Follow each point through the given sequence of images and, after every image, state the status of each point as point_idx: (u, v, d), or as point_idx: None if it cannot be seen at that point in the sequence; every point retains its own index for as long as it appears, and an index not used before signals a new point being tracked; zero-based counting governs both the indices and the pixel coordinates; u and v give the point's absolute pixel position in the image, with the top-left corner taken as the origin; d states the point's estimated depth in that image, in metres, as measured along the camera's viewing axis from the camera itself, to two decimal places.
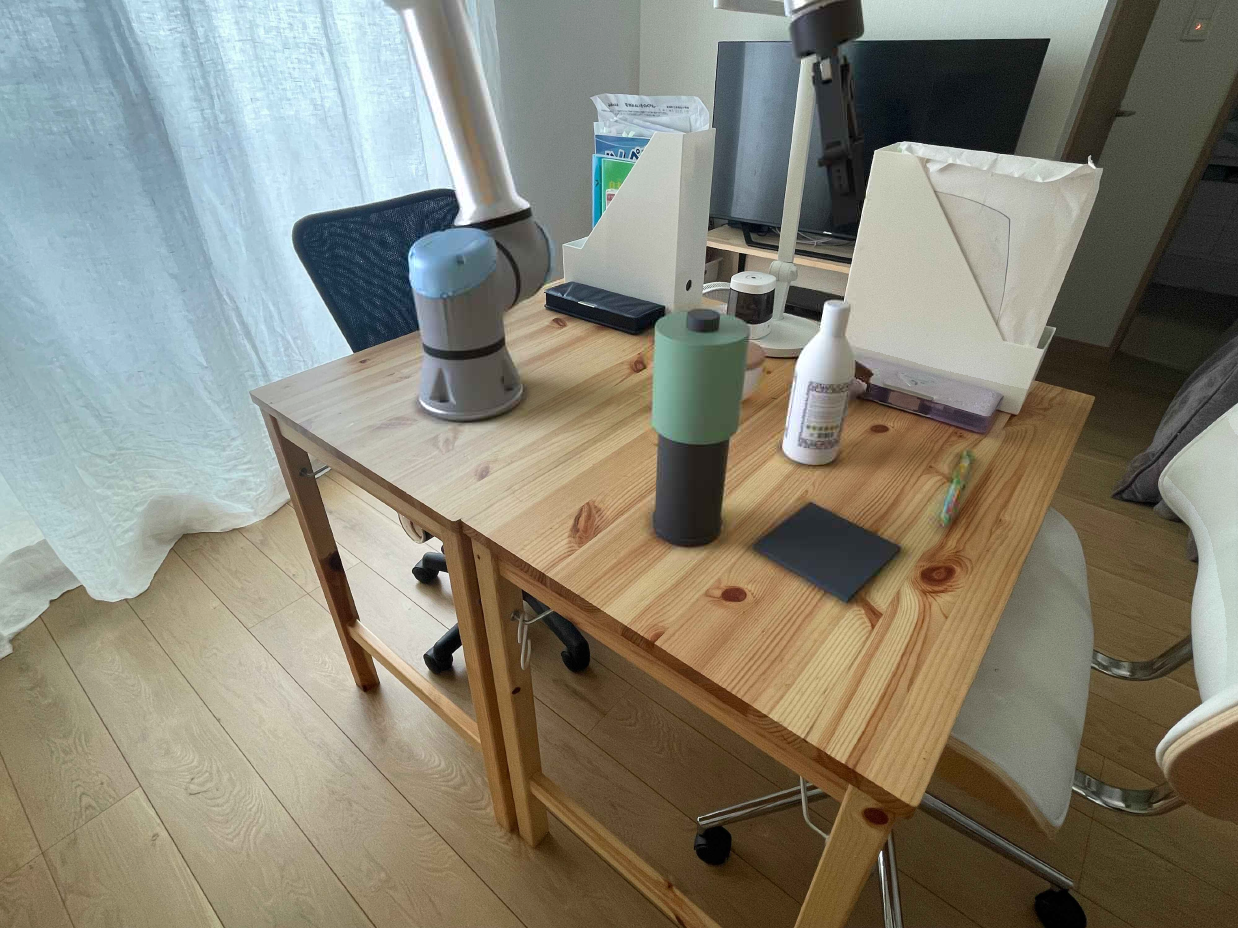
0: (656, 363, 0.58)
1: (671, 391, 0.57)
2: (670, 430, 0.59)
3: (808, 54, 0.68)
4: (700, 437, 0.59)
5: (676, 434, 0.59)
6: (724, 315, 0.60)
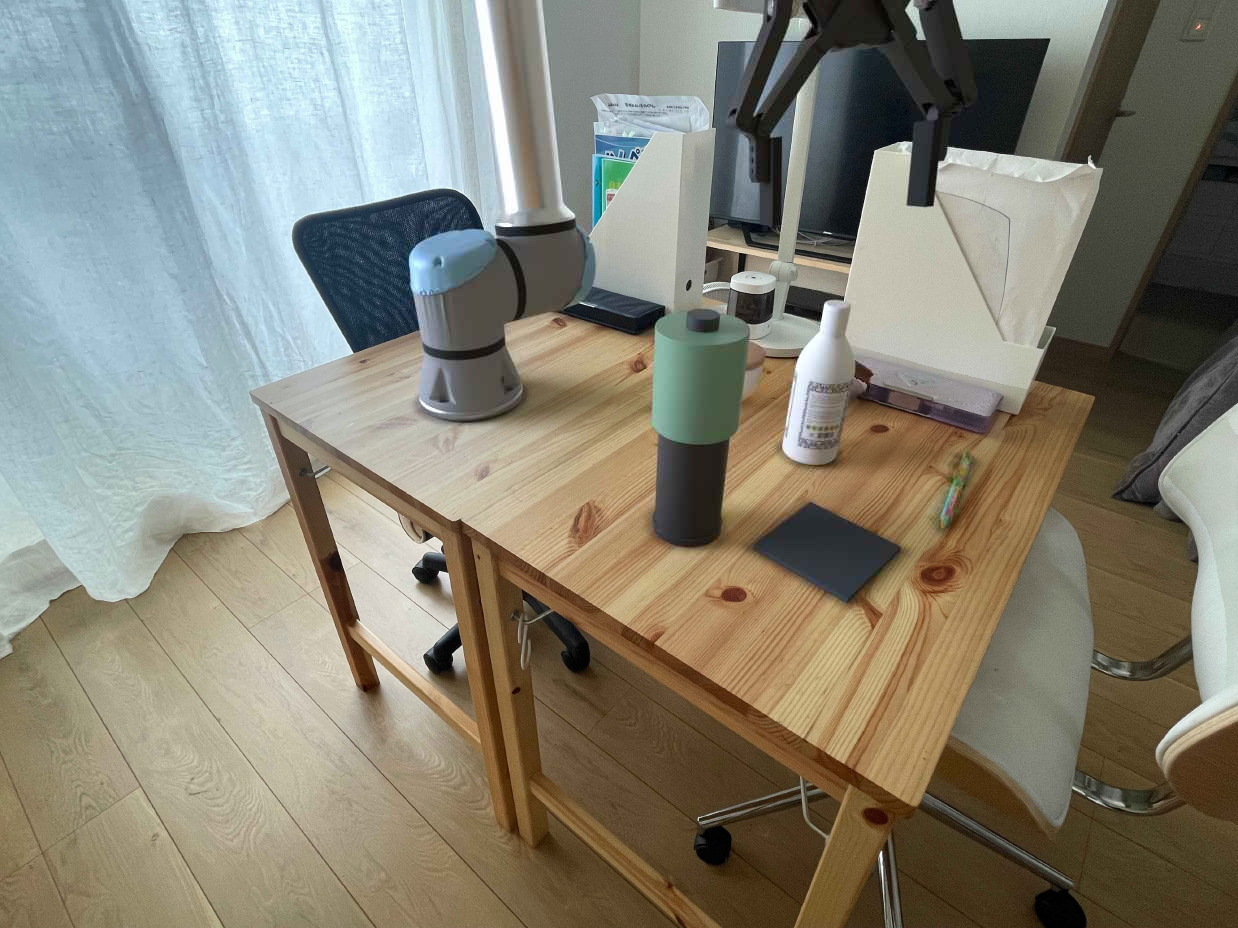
0: (656, 363, 0.58)
1: (671, 391, 0.57)
2: (670, 430, 0.59)
3: None
4: (700, 437, 0.59)
5: (676, 434, 0.59)
6: (724, 315, 0.60)
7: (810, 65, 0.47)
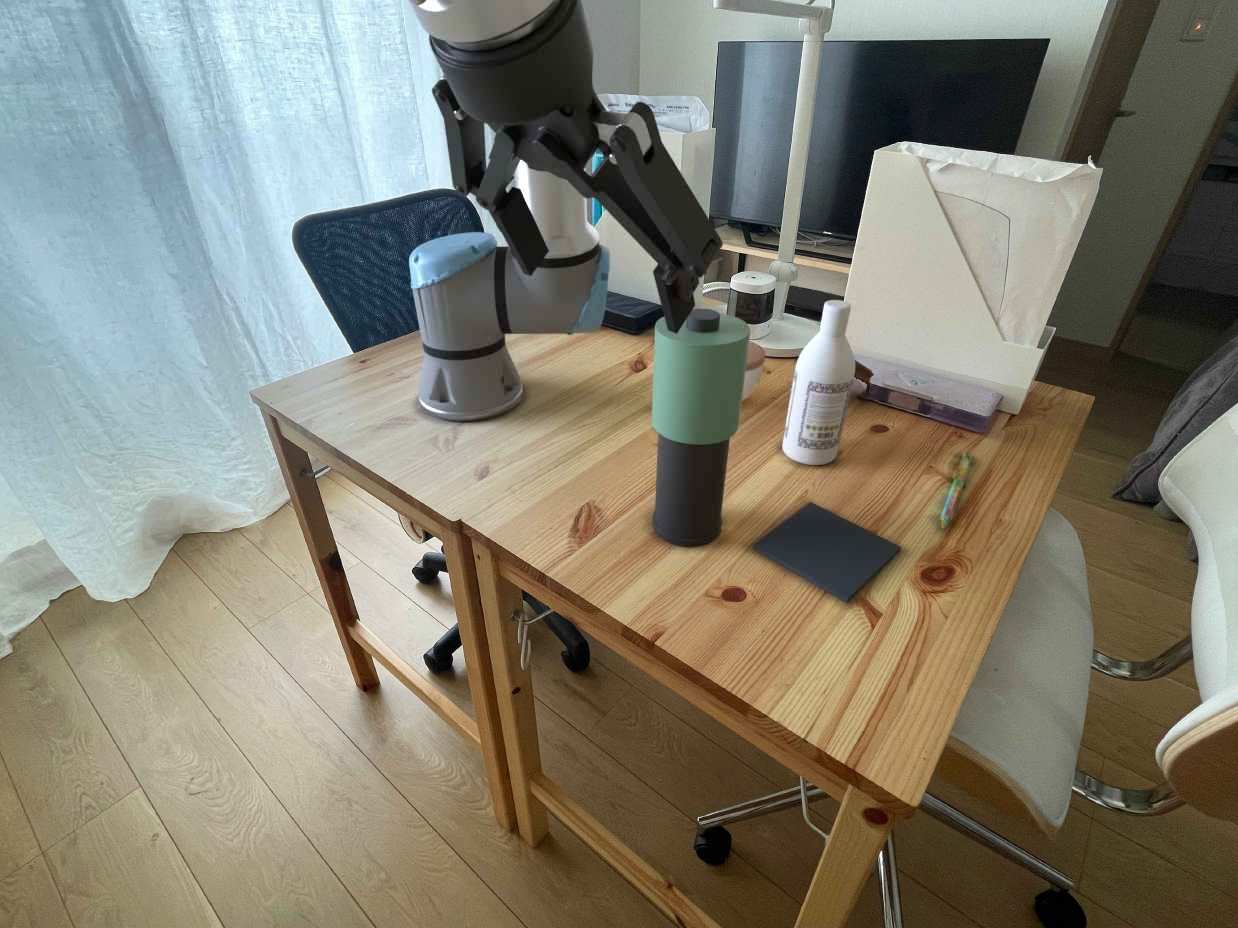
0: (656, 363, 0.58)
1: (671, 391, 0.57)
2: (670, 430, 0.59)
3: None
4: (700, 437, 0.59)
5: (676, 434, 0.59)
6: (724, 315, 0.60)
7: (499, 172, 0.40)
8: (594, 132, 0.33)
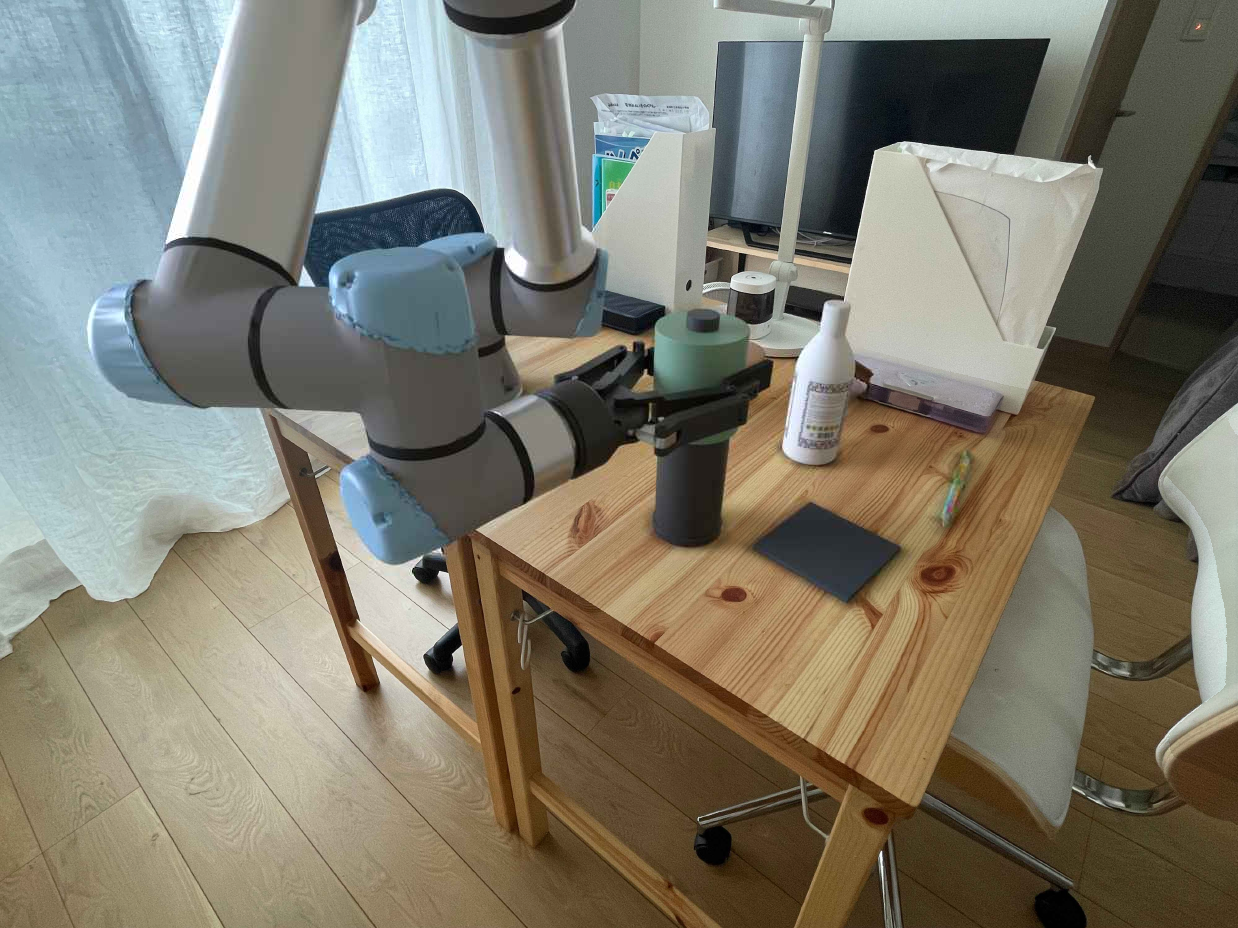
0: (656, 363, 0.58)
1: (671, 391, 0.57)
2: None
3: None
4: None
5: None
6: (724, 315, 0.60)
7: None
8: None
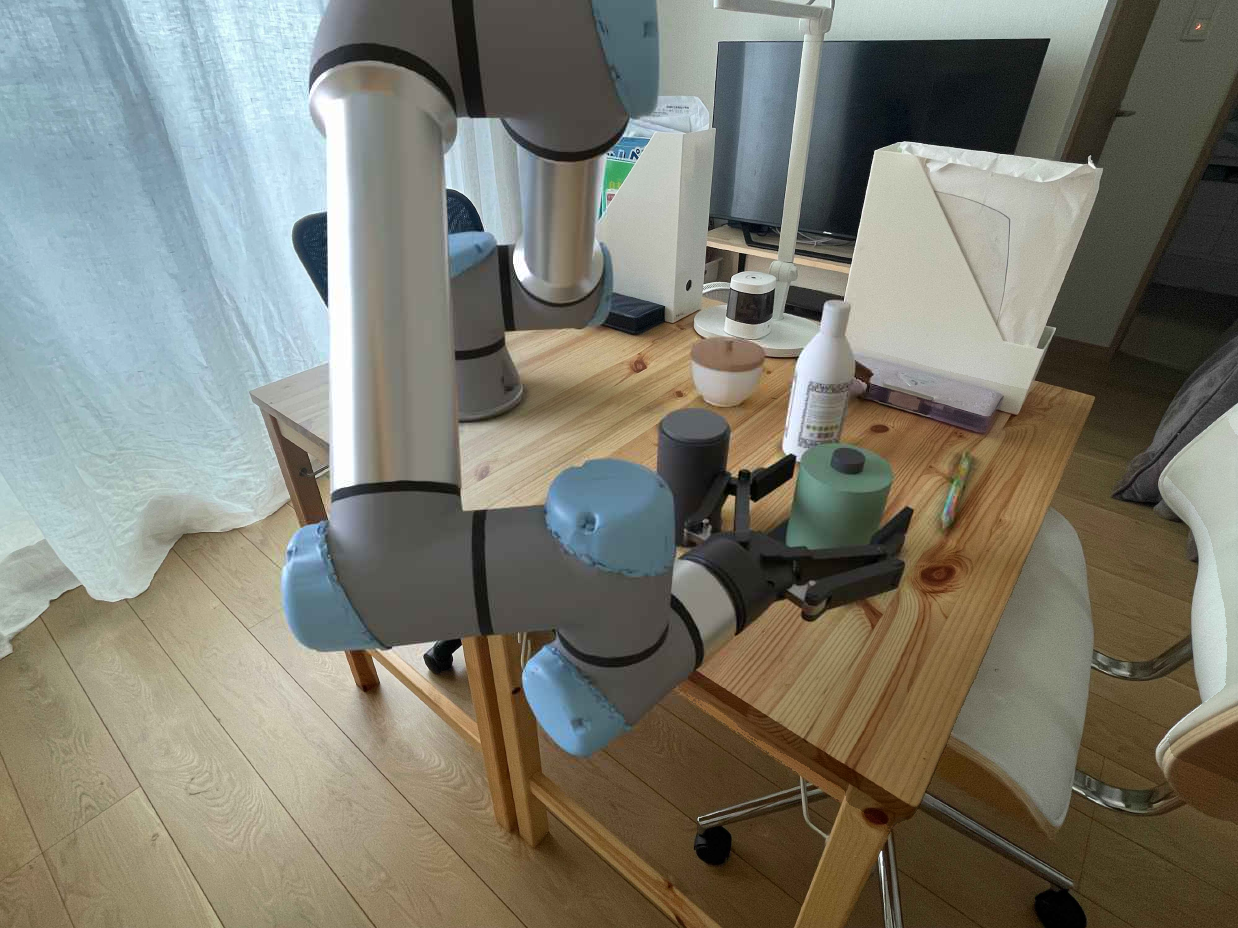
0: (801, 499, 0.61)
1: (817, 527, 0.61)
2: None
3: None
4: None
5: None
6: (861, 449, 0.63)
7: None
8: None
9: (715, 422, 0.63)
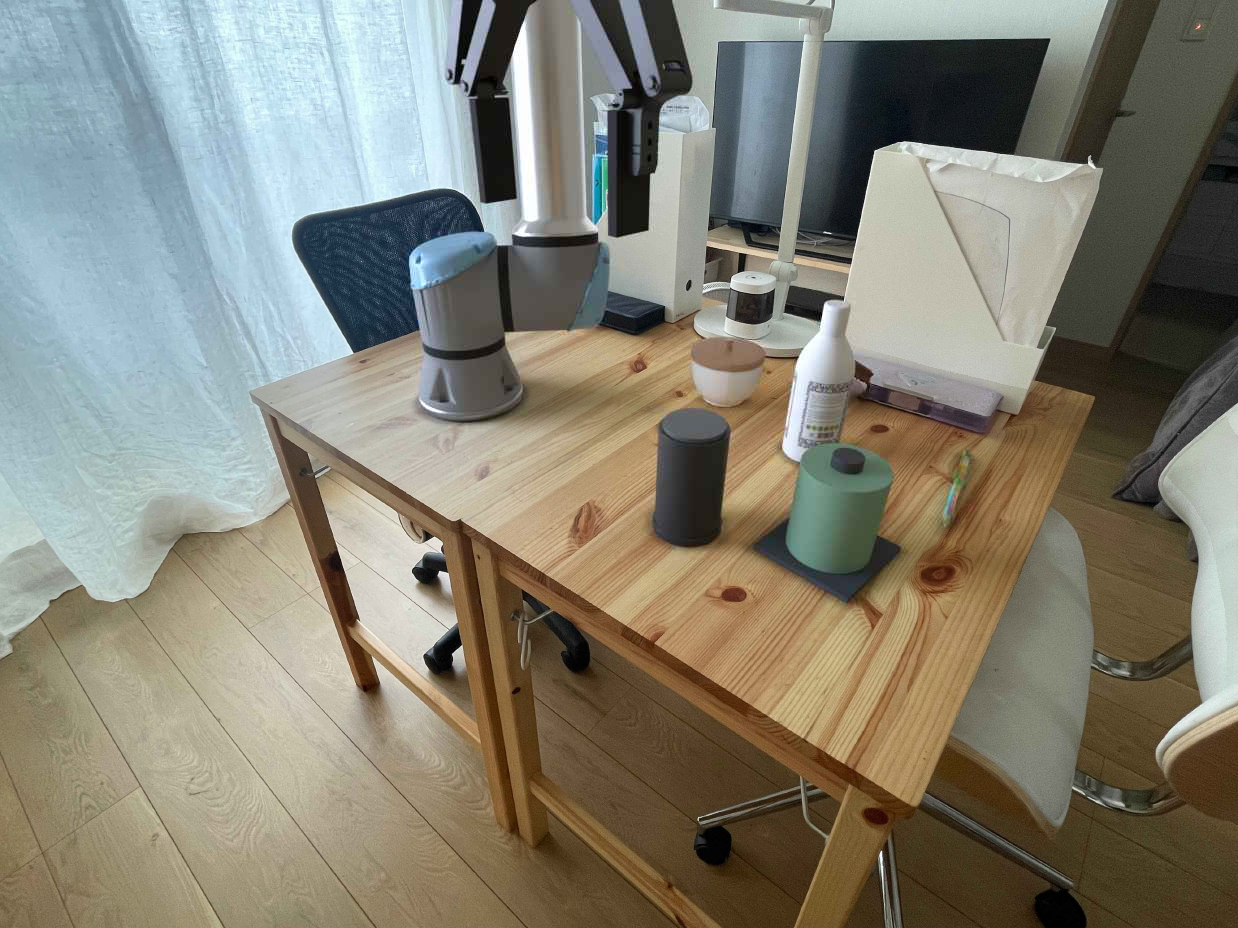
0: (801, 499, 0.61)
1: (817, 527, 0.61)
2: (811, 559, 0.63)
3: None
4: (841, 567, 0.62)
5: (817, 563, 0.63)
6: (861, 449, 0.63)
7: (488, 14, 0.38)
8: None
9: (715, 422, 0.63)
